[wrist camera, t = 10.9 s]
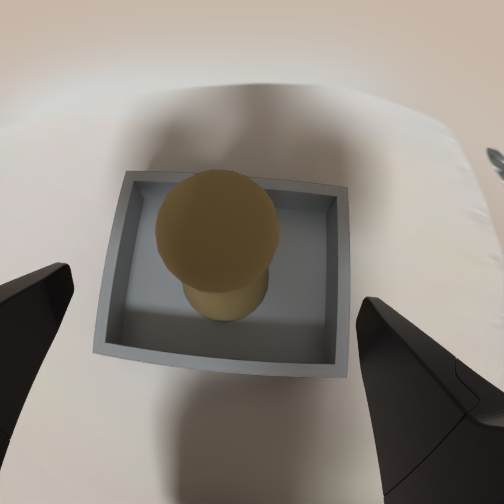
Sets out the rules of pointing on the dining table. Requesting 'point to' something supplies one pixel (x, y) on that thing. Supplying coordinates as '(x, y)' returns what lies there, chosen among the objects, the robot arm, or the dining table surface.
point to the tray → (253, 325)
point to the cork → (219, 242)
